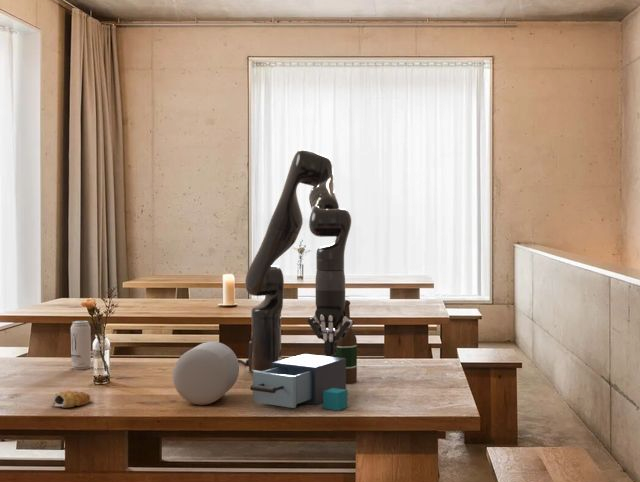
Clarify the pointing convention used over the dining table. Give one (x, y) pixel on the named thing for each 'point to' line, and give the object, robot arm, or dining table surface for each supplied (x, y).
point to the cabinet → (319, 372)
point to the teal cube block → (335, 399)
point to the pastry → (70, 399)
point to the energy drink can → (80, 345)
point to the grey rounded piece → (205, 373)
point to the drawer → (282, 386)
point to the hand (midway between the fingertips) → (330, 356)
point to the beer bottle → (348, 350)
